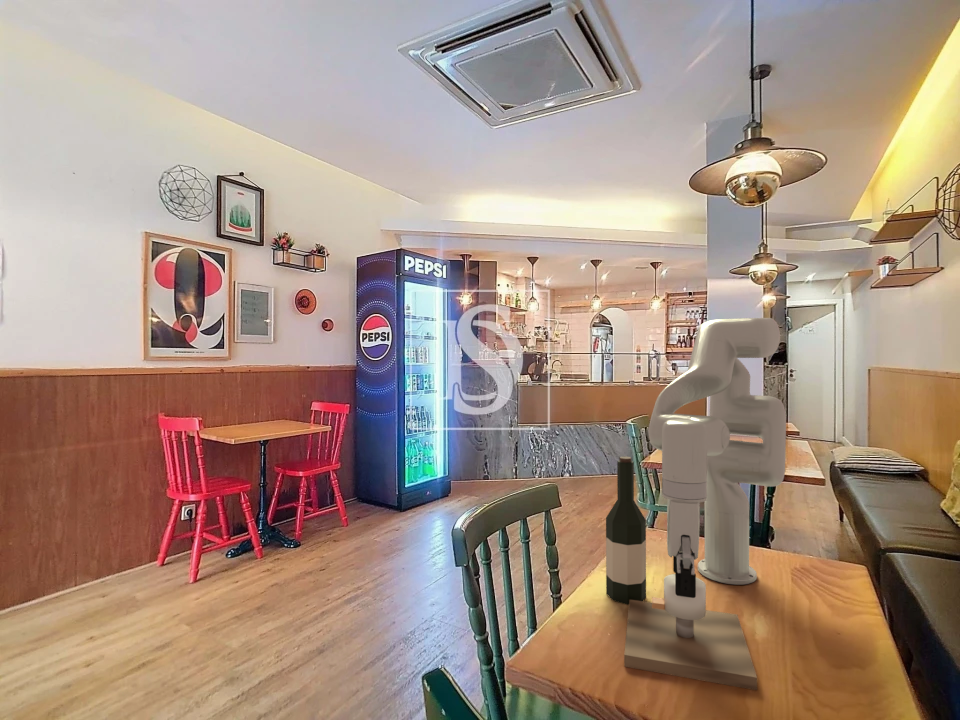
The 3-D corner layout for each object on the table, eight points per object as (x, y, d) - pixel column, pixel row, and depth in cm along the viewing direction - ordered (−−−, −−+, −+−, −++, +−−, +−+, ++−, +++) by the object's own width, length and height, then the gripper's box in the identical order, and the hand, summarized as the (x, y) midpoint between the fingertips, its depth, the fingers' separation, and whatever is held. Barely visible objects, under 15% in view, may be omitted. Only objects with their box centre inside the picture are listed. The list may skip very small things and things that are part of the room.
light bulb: (651, 596, 98) (651, 570, 98) (703, 603, 95) (703, 576, 95) (651, 614, 92) (651, 586, 92) (707, 622, 89) (707, 593, 89)
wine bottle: (648, 606, 107) (647, 462, 106) (607, 602, 109) (606, 461, 108) (643, 587, 115) (643, 454, 115) (605, 584, 117) (604, 453, 116)
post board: (629, 609, 106) (629, 580, 106) (737, 624, 100) (737, 594, 100) (624, 666, 87) (624, 631, 87) (757, 690, 81) (757, 652, 81)
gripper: (661, 476, 102) (661, 563, 102) (662, 499, 86) (662, 602, 86) (702, 479, 100) (702, 568, 100) (712, 504, 83) (711, 609, 83)
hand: (683, 584), depth 93 cm, fingers open, 9 cm apart
